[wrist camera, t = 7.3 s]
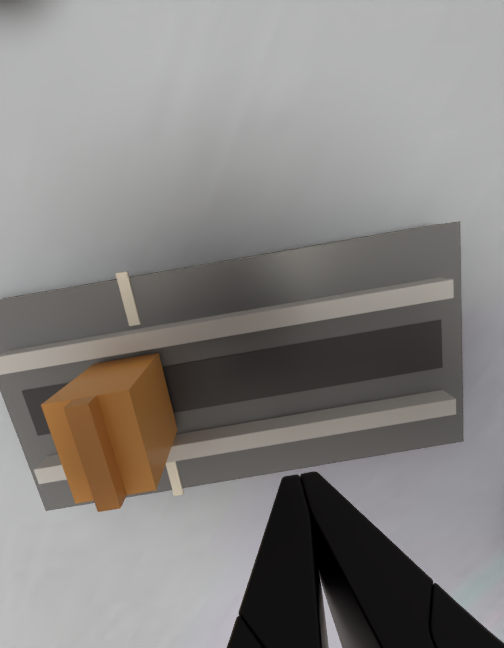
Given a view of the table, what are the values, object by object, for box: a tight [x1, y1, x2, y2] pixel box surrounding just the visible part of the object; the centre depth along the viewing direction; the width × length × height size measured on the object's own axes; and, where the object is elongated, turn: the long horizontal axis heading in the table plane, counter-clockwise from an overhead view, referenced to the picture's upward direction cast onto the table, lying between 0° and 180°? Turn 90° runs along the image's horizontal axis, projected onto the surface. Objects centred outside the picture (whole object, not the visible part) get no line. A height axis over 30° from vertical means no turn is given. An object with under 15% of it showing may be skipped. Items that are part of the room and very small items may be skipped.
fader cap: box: [41, 353, 178, 512], centre depth 13 cm, size 4×3×5 cm
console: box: [0, 222, 464, 511], centre depth 16 cm, size 12×22×3 cm, turn 100°
